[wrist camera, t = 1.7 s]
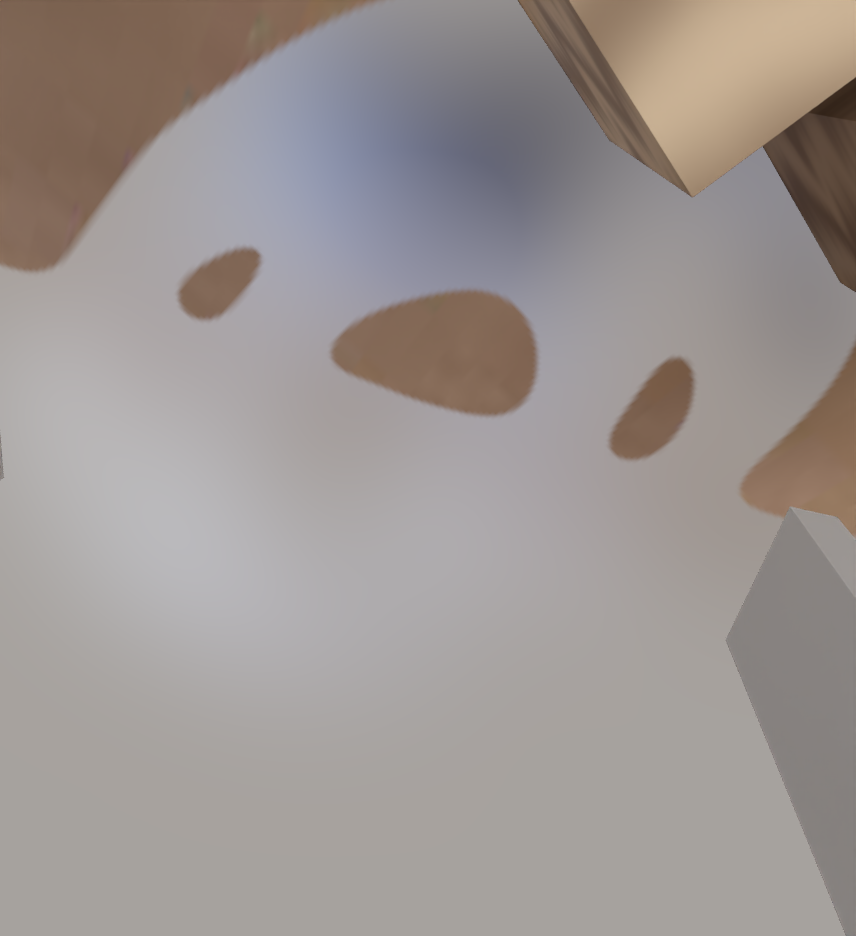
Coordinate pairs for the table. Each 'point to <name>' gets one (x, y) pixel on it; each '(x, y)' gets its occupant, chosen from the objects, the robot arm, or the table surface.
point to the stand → (824, 176)
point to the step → (699, 73)
